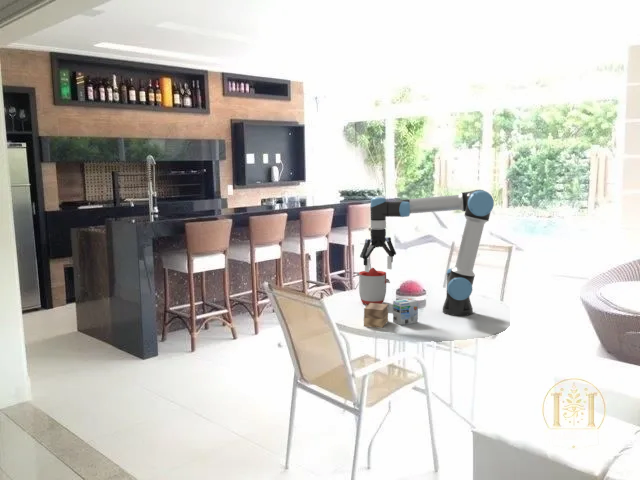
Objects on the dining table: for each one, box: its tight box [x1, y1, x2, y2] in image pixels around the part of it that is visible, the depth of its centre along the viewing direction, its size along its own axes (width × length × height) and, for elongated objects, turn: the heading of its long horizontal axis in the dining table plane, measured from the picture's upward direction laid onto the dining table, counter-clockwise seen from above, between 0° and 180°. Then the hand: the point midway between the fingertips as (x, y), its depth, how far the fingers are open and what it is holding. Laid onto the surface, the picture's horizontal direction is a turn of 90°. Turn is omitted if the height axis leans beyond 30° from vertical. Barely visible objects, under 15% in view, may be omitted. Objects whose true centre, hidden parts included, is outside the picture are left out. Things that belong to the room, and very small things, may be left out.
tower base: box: [363, 313, 389, 329], centre depth 283 cm, size 9×12×4 cm
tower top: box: [363, 303, 389, 319], centre depth 282 cm, size 9×12×4 cm
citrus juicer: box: [358, 267, 391, 306], centre depth 323 cm, size 16×17×20 cm
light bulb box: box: [392, 298, 419, 326], centre depth 285 cm, size 11×7×11 cm, turn 117°
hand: (378, 270), depth 295 cm, fingers open, 13 cm apart
